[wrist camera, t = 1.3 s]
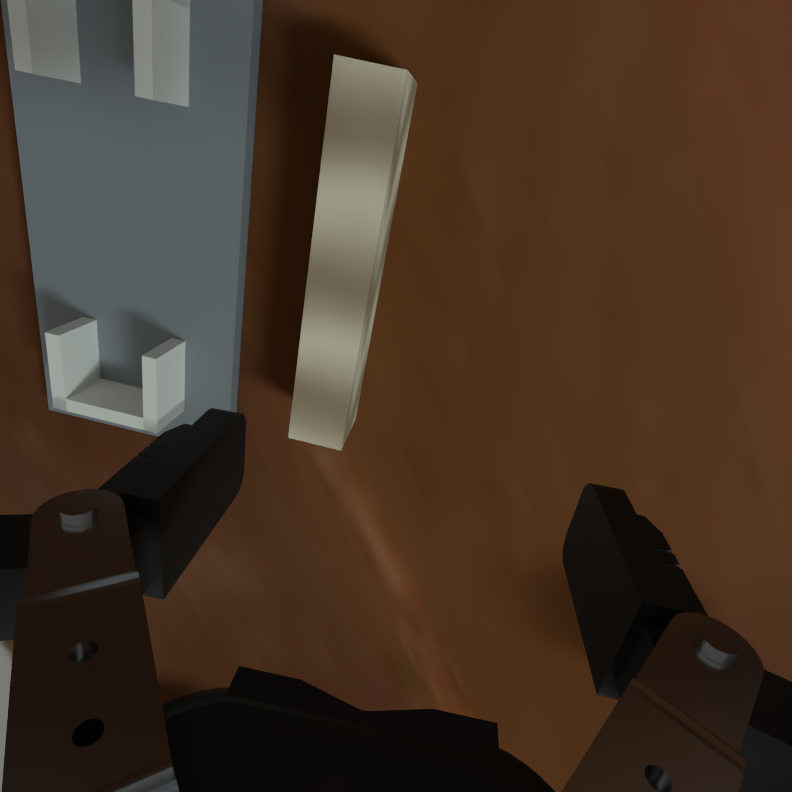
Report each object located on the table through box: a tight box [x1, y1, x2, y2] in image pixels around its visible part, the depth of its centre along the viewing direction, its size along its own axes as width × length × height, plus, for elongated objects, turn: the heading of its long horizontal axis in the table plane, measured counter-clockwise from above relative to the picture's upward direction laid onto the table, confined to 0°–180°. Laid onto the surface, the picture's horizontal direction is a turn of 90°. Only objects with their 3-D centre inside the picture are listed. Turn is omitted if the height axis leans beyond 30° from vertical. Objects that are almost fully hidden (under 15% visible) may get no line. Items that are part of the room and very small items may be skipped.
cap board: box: [1, 0, 263, 437], centre depth 26 cm, size 26×12×4 cm, turn 169°
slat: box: [288, 55, 417, 450], centre depth 26 cm, size 18×3×4 cm, turn 169°
